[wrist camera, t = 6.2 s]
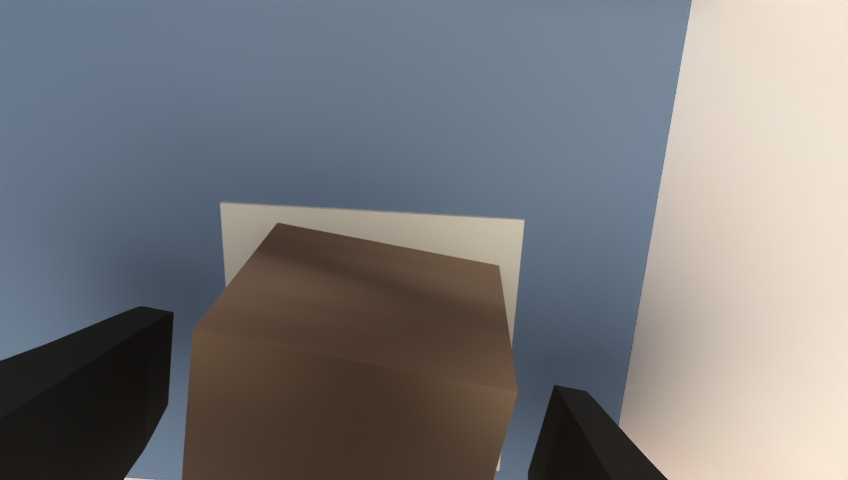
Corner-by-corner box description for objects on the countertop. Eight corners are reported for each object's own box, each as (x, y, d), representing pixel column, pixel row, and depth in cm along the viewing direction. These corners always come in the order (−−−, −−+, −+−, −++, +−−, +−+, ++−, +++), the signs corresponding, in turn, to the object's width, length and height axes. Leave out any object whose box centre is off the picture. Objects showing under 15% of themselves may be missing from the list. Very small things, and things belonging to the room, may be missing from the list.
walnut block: (255, 409, 15) (174, 576, 11) (277, 222, 13) (192, 330, 9) (453, 447, 15) (452, 626, 11) (498, 265, 13) (517, 392, 9)
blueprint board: (-158, -514, 10) (-214, -558, 9) (759, -493, 10) (787, -539, 9) (32, 448, 17) (9, 472, 16) (596, 486, 16) (604, 513, 15)
